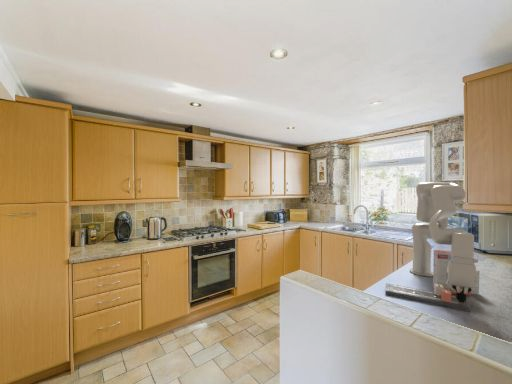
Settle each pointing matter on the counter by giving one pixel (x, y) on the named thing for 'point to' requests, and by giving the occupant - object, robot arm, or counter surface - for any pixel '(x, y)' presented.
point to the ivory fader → (438, 288)
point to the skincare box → (477, 286)
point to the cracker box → (442, 270)
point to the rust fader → (446, 295)
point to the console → (424, 297)
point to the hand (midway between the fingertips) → (461, 301)
